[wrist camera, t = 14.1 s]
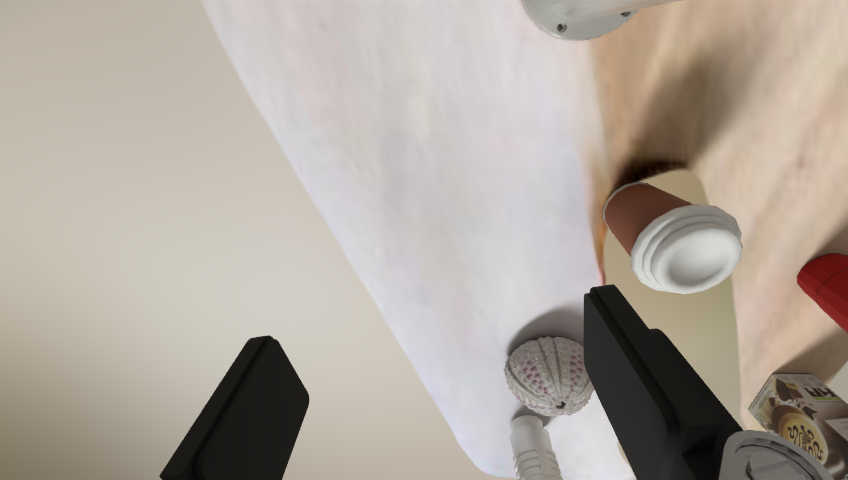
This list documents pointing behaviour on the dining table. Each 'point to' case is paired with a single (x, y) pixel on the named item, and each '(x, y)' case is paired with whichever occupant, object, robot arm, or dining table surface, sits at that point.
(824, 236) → the dining table surface
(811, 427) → the coffee box
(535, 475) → the candle
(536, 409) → the sea urchin shell
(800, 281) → the plastic cup
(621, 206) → the coffee cup
